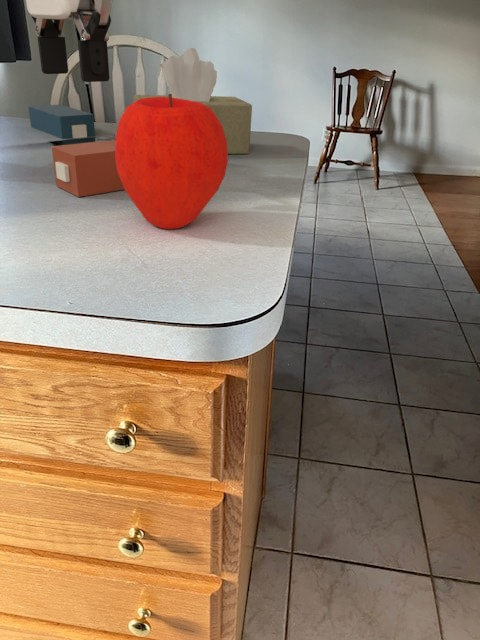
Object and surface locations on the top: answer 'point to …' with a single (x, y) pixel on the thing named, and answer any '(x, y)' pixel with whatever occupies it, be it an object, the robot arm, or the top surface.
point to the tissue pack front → (86, 168)
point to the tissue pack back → (63, 123)
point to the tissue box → (208, 97)
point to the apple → (170, 158)
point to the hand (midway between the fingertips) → (74, 77)
